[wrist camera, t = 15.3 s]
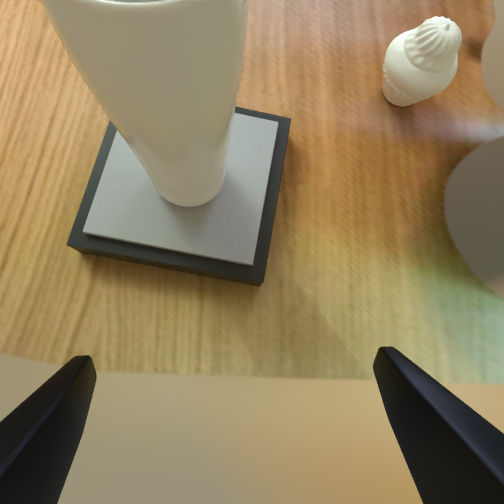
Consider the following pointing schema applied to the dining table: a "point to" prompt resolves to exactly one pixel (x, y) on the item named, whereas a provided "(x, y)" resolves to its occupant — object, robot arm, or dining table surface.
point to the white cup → (162, 81)
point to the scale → (188, 218)
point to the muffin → (421, 62)
